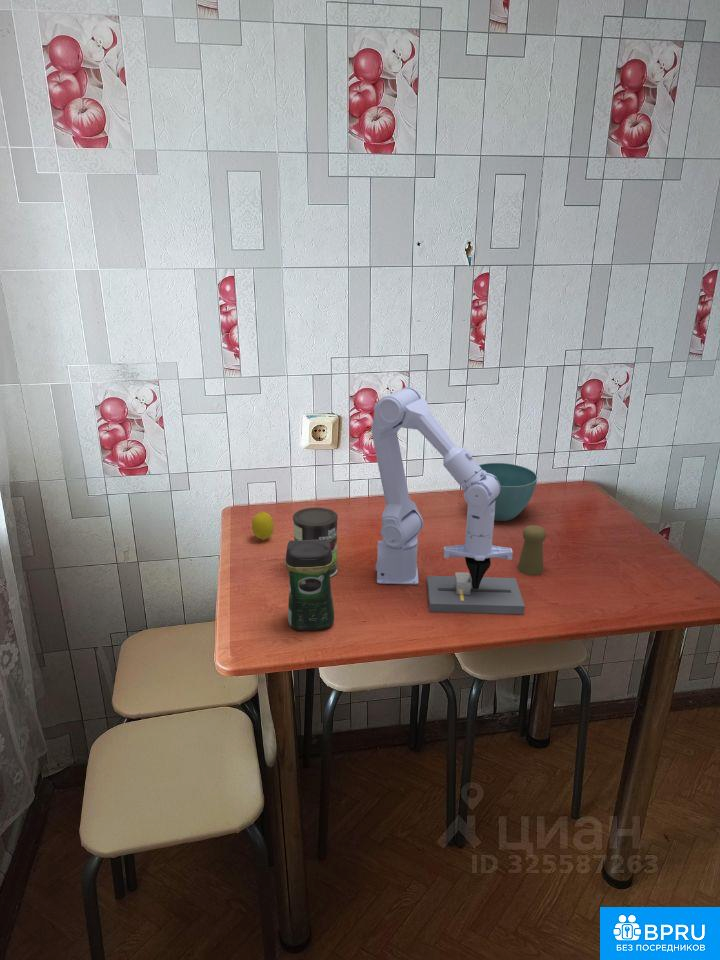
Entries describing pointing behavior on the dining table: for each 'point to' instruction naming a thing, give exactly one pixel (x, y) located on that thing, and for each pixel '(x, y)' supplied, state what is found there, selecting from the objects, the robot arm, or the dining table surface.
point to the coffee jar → (309, 584)
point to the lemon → (262, 525)
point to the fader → (462, 583)
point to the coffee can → (317, 528)
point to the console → (475, 596)
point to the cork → (532, 551)
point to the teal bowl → (511, 488)
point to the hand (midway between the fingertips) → (475, 586)
